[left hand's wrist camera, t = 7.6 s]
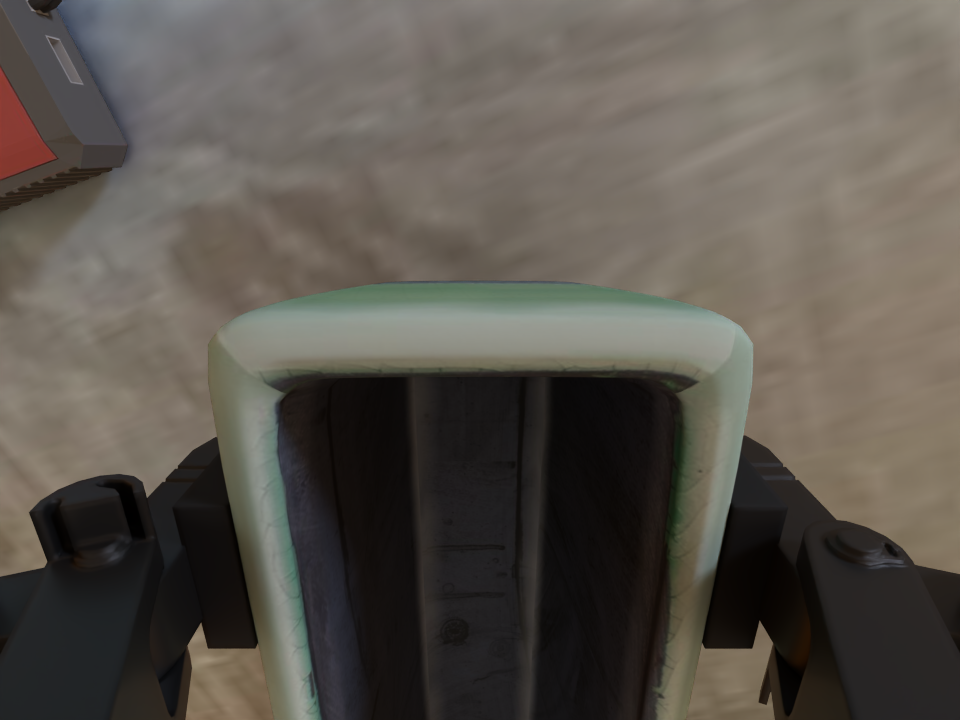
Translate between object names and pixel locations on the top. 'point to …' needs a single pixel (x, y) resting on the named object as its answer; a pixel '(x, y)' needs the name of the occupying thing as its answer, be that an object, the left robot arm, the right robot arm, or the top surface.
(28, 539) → the top surface
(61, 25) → the walkie-talkie
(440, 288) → the planter
